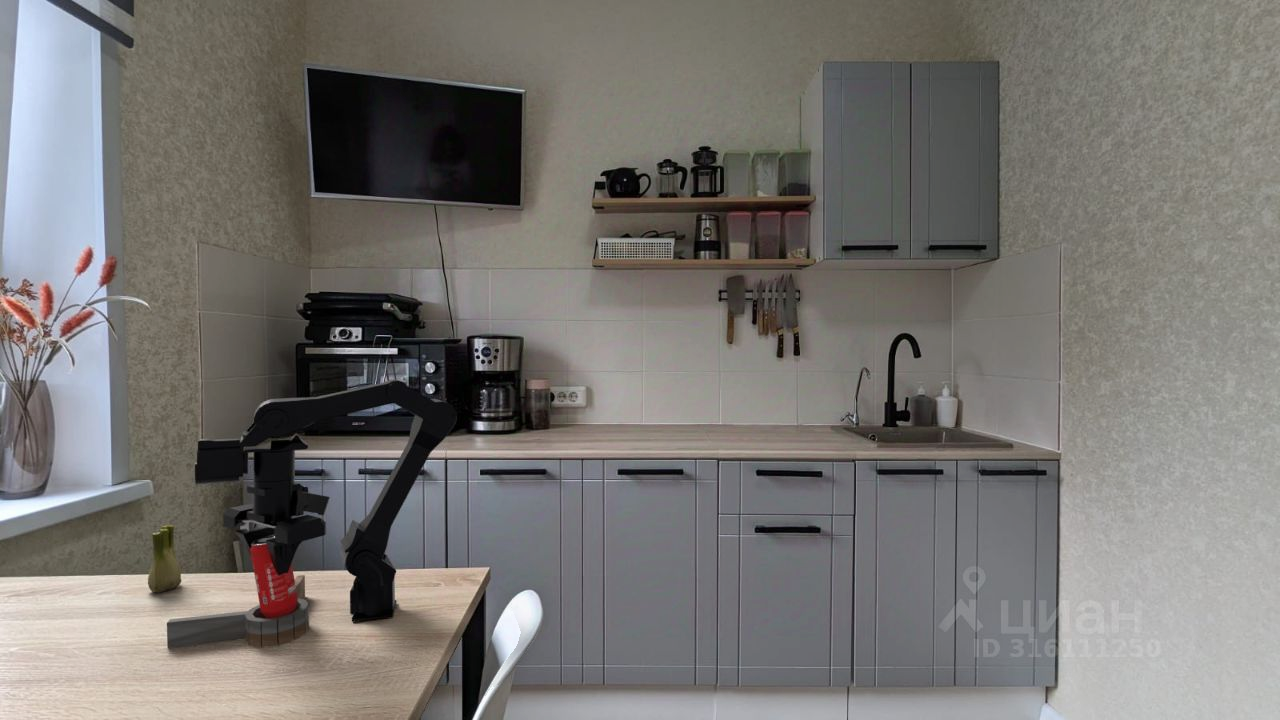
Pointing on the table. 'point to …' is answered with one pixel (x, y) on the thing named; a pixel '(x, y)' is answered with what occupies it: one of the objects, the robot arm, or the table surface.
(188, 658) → the table surface
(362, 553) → the robot arm
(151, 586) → the fennel bulb
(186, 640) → the grey ring bracket
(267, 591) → the beverage can
